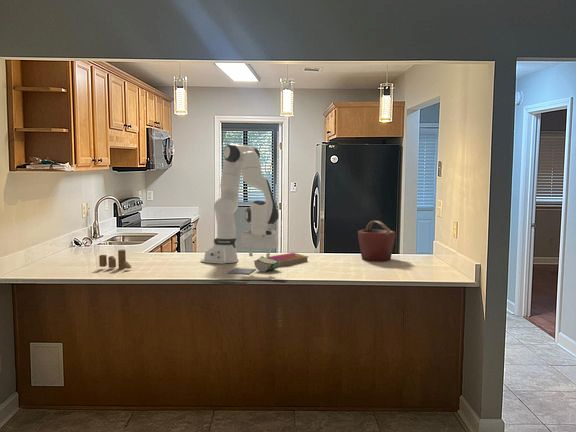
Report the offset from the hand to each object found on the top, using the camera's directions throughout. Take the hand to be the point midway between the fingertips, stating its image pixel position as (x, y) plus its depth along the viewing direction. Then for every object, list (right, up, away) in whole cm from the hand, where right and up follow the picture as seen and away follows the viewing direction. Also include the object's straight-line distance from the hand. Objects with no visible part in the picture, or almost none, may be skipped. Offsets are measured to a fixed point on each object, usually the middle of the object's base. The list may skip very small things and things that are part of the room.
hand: (259, 256), depth 297 cm
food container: (+1, -7, +2) cm, 7 cm away
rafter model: (+12, -7, +30) cm, 33 cm away
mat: (-10, -9, +3) cm, 13 cm away
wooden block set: (-79, -8, +8) cm, 80 cm away
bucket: (+69, -6, +43) cm, 82 cm away
